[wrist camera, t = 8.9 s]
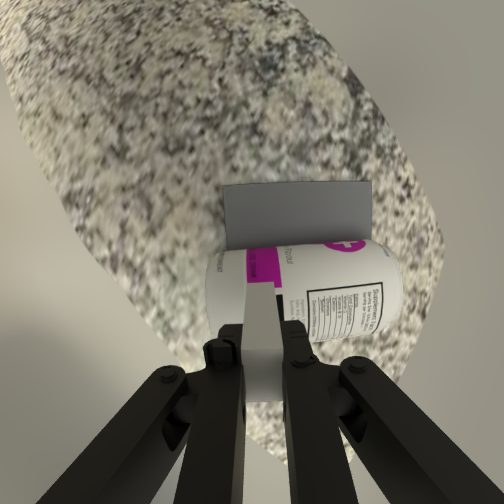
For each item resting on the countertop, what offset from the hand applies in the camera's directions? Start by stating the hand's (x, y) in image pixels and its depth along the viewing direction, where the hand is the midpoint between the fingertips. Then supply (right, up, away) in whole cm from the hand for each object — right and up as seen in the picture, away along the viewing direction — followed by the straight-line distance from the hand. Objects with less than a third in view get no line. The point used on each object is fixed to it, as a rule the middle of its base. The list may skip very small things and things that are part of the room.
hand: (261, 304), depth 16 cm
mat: (+4, +3, +11) cm, 12 cm away
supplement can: (-4, -1, +7) cm, 9 cm away
